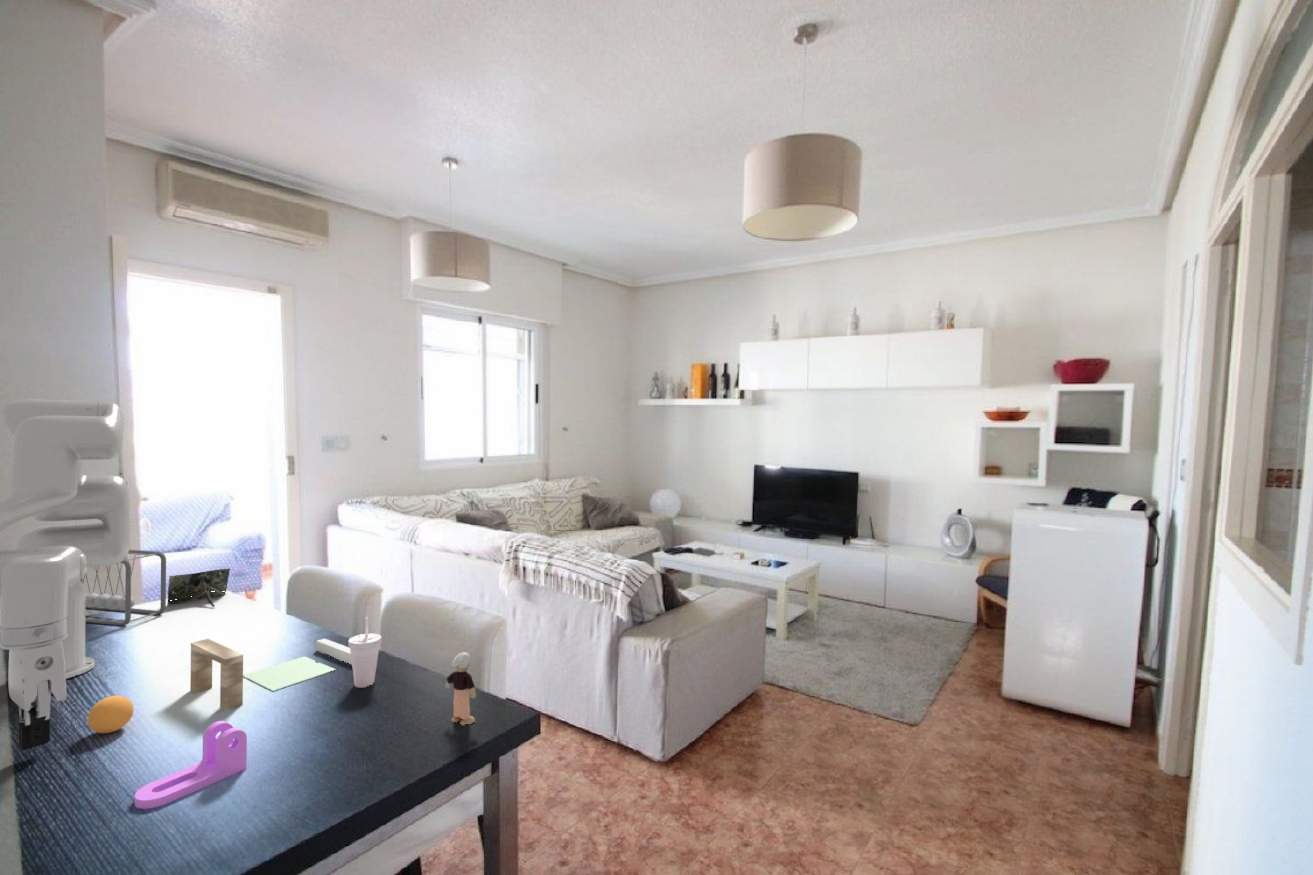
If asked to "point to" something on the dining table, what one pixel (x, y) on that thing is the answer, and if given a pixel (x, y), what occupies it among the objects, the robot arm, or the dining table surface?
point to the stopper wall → (334, 650)
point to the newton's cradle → (127, 601)
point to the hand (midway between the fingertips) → (34, 744)
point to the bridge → (229, 673)
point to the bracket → (200, 767)
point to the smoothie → (364, 656)
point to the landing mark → (288, 673)
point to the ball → (110, 714)
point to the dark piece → (197, 586)
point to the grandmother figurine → (461, 689)
